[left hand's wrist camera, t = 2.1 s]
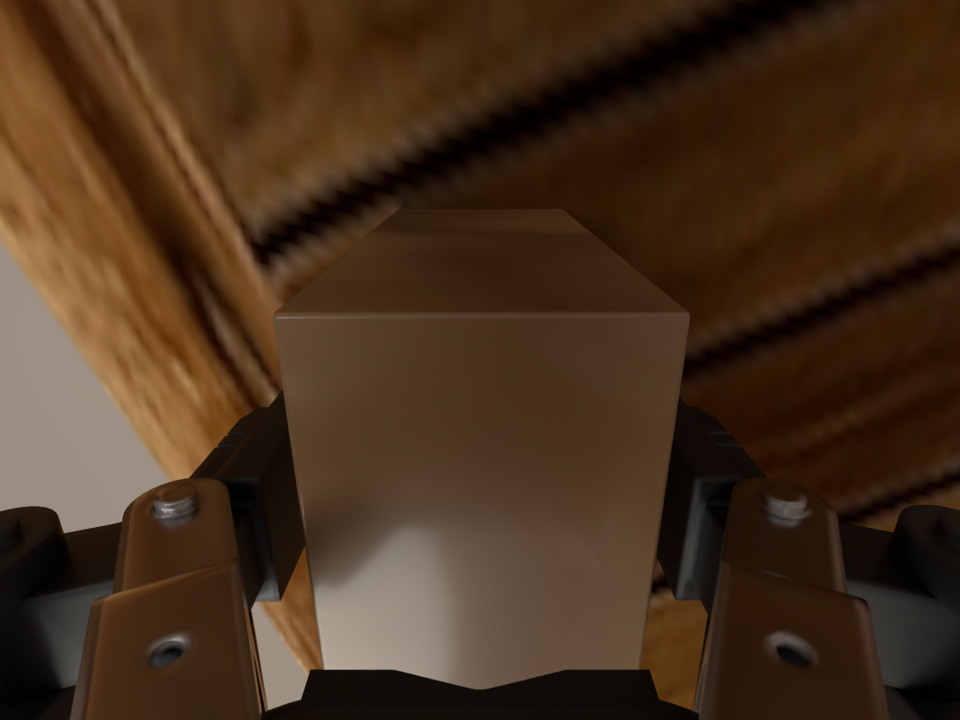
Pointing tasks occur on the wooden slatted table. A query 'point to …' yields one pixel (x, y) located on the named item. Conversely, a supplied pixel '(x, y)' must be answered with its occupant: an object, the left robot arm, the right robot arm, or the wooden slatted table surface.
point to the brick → (481, 445)
